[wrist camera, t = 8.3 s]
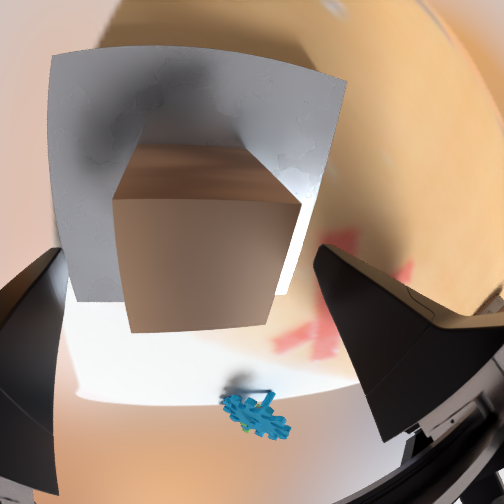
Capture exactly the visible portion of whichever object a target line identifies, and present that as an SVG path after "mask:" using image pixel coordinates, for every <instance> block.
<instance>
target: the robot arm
mask: <svg viewBox="0 0 504 504" xmlns="http://www.w3.org/2000/svg"><path fill="white" fill-rule="evenodd" d="M313 268H314V271H315V274H316V277H317V279H318V282H319V285H320V288H321V291H322V294H323V297H324V300H325V302H326V305H327V307H328V309H329V311H330V313H331V316H332V318H333V320H334V322H335V325H336V327H337V329H338V331H339V334H340V336H341V338H342V341H343V343H344V345H345V348H346V350H347V352H348V355H349V357H350V359H351V362H352V364H353V367H354V369H355V371H356V374H357V376H358V379H359V381H360V384H361V386H362V389H363V391H364V394H365V395H366V399H367V401H368V404H369V407H370V409H371V412H372V414H373V417H374V419H375V422H376V425H377V428H378V430H379V433H380V436H381V438H382V441H383V442H384V443H385V442H387V441H389V440H390V439H392V438H394V437H396V436H397V435H399V434H400V433H402V432H407V433H408V434H412V433H415V435H414V436H412V437H411V438H409V439H408V440H407V441H406V445H405V450H404V454H403V458H402V462H401V466H400V467H399V468H397V469H396V470H394V471H393V472H391V473H389V474H388V475H386V476H384V477H383V478H381V479H379V480H378V481H376V482H374V483H373V484H371V485H369V486H367V487H365V488H364V489H362V490H360V491H358V492H356V493H354V494H352V495H350V496H348V497H346V498H344V499H342V500H340V501H337V502H335V503H333V504H454V502H456V501H457V499H458V498H460V500H461V502H462V504H504V484H503V482H502V479H501V477H500V475H499V473H498V471H499V470H501V469H502V468H504V312H500V313H493V314H485V315H477V316H463V315H460V314H457V313H455V312H453V311H451V310H450V309H448V308H446V307H444V306H442V305H440V304H438V303H436V302H435V301H433V300H431V299H429V298H427V297H425V296H423V295H422V294H420V293H418V292H416V291H415V290H413V289H411V288H409V287H408V286H405V285H404V284H402V283H401V282H399V281H397V280H395V279H394V278H392V277H390V276H388V275H387V274H385V273H383V272H381V271H379V270H378V269H376V268H374V267H372V266H370V265H369V264H367V263H365V262H363V261H361V260H359V259H358V258H356V257H354V256H352V255H350V254H348V253H346V252H345V251H343V250H341V249H339V248H337V247H335V246H333V245H331V244H322V245H320V246H319V248H318V251H317V254H316V257H315V259H314V262H313ZM68 276H69V270H68V265H67V261H66V257H65V253H64V250H63V249H62V248H51V249H49V250H48V251H47V252H45V253H44V254H43V255H41V256H40V257H39V258H38V259H36V260H35V261H34V262H33V263H31V264H30V265H29V266H28V267H26V268H25V269H24V270H23V271H22V272H20V273H19V274H18V275H17V276H16V277H15V278H13V279H12V280H11V281H10V282H9V283H8V284H7V285H5V286H4V287H3V288H2V289H1V290H0V504H36V503H35V502H34V499H33V490H32V489H34V490H38V491H42V492H45V493H49V494H53V495H57V496H59V490H58V483H57V476H56V467H55V455H54V436H53V401H54V384H55V372H56V362H57V353H58V346H59V340H60V334H61V328H62V322H63V316H64V309H65V299H66V290H67V283H68Z"/></svg>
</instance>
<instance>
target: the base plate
mask: <svg viewBox="0 0 504 504" xmlns="http://www.w3.org/2000/svg"><path fill="white" fill-rule="evenodd" d="M346 84H347V81H344V80H341V79H339V78H336V77H333V76H330V75H327V74H324V73H321V72H318V71H315V70H311V69H308V68H305V67H301V66H298V65H294V64H290V63H286V62H282V61H278V60H274V59H269V58H265V57H260V56H255V55H250V54H244V53H238V52H232V51H225V50H217V49H209V48H198V47H185V46H160V45H144V46H119V47H107V48H97V49H89V50H81V51H75V52H69V53H64V54H59V55H54V56H52V61H51V69H50V79H49V91H48V111H47V135H48V158H49V171H50V181H51V189H52V197H53V204H54V210H55V216H56V222H57V227H58V232H59V237H60V241H61V246H62V249H63V250H64V253H65V257H66V261H67V265H68V270H69V277H70V280H71V284H72V287H73V290H74V293H75V296H76V299H77V302H125V301H124V295H123V290H122V284H121V278H120V271H119V265H118V257H117V249H116V241H115V231H114V220H113V207H112V199H113V196H114V194H115V191H116V189H117V187H118V184H119V182H120V180H121V178H122V176H123V173H124V171H125V169H126V167H127V165H128V163H129V161H130V159H131V156H132V154H133V152H134V150H135V148H136V146H137V145H138V144H182V145H203V146H219V147H231V148H242V149H247V150H248V151H249V152H250V153H252V154H253V155H254V156H255V157H256V158H257V159H258V160H259V161H260V162H261V163H262V164H263V165H264V166H265V167H266V168H267V169H268V170H269V171H270V172H271V173H272V174H273V175H274V176H275V177H276V178H277V179H278V180H279V181H280V182H281V183H282V184H283V185H284V186H285V187H286V188H287V189H288V190H289V191H290V192H291V193H292V194H293V195H294V196H295V197H296V198H297V199H298V200H299V201H300V202H301V203H302V207H301V210H300V214H299V217H298V221H297V224H296V228H295V231H294V235H293V238H292V241H291V245H290V248H289V251H288V255H287V258H286V261H285V265H284V268H283V271H282V274H281V278H280V281H279V284H278V287H277V290H276V294H286V291H287V288H288V286H289V283H290V280H291V277H292V274H293V271H294V268H295V265H296V262H297V259H298V256H299V252H300V249H301V246H302V243H303V240H304V237H305V234H306V230H307V227H308V224H309V221H310V218H311V214H312V211H313V208H314V204H315V201H316V198H317V194H318V191H319V187H320V184H321V180H322V177H323V173H324V170H325V166H326V163H327V159H328V155H329V152H330V148H331V144H332V140H333V137H334V133H335V129H336V125H337V121H338V117H339V113H340V109H341V105H342V101H343V97H344V92H345V88H346ZM276 294H275V295H276Z"/></svg>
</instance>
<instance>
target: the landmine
mask: <svg viewBox="0 0 504 504" xmlns="http://www.w3.org/2000/svg"><path fill="white" fill-rule="evenodd" d="M500 312H504V300H503V299H502V298H501V296H497V295H495V296H493V297H492V298H491V299H490V300H489V301H488V302H487V303H486V304H485V305H484V306H483V307H482V308H481V309H480V310H479V311H478V312H477V313H476V315H475V316H477V315H485V314H493V313H500Z"/></svg>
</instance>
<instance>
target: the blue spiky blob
mask: <svg viewBox="0 0 504 504" xmlns="http://www.w3.org/2000/svg"><path fill="white" fill-rule="evenodd" d="M274 396H275V393H274V392H272V391H269V393H268V394H267V396H266V397H265V399H264V401H263V402H262V404H261V405H259V404H258V405H257V406H256V407H255V405H256V404H257V401H255V400H254V399H252V398H249V397H248V398H247V399H246V401H245V402H244V404H245V405H244V404H243V403H241V400H242V398H241V397H240V396H238V395H232V397H231V398H230V397H226V398H225V399H224V401H223V402H222V403H223V404H224V405H225V406H224V408H223V410H224V411H225V412H227V413H230V414H231V415H230V416H229V417H230V418H231V420H233V421H235V422H241V423H240V424H241V426H242V428H243V431H244V432H247V433H248V432H249V431H250V429H255V430H256V431H255V434H256V435H258V436H260V437H263V435H264V433H268V434H269V436H268V438H269V439H272V440H276V439H277V438H278V437H279V438H280V439H287V437H288V435H289V434H288V433H289V432H290V430H291V427H290V426H287V425H285V423H286V419H285V418H284V417H282V416H272V414H273V412H274V410H273V409H272V408H271V407H269V405H270V403H271V401H272V400H273V398H274Z"/></svg>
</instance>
